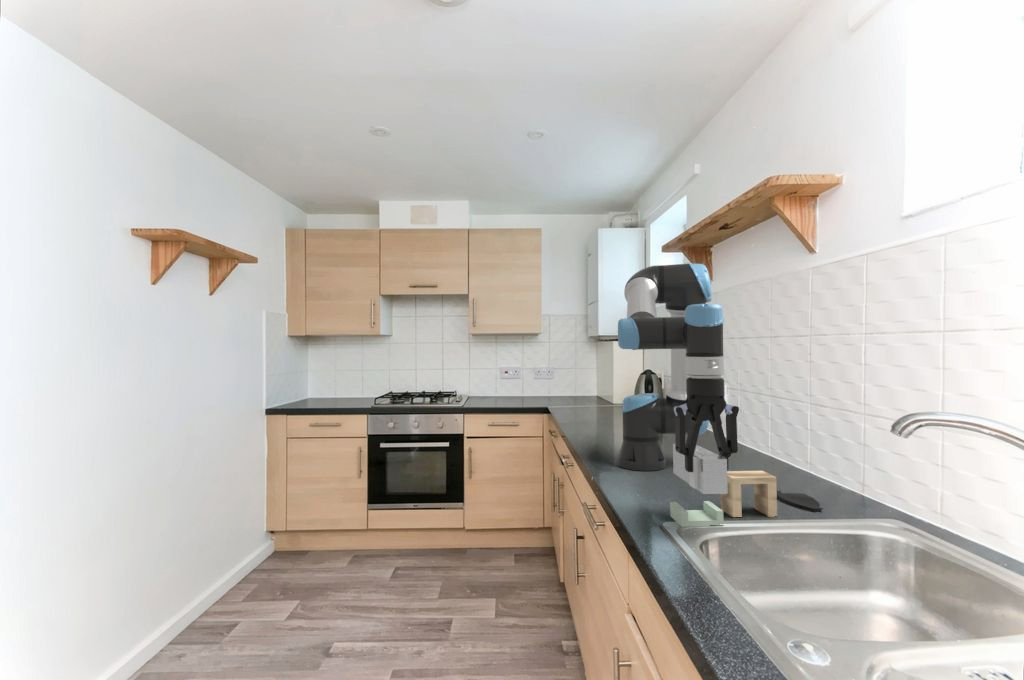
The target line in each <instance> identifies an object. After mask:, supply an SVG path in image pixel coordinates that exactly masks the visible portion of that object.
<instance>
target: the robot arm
mask: <svg viewBox="0 0 1024 680" xmlns="http://www.w3.org/2000/svg"><path fill="white" fill-rule="evenodd" d="M623 293H624V294H623V295H624V298H625V301H626V303H627V305H626V307H627V308H626V317H625V318H620V319H619V320H618V321H617V344H618V347H619V348H620V349H622V350H633V351H635V350H636V351H638V350H670V388H669V389H667V391H666V393H665V397H660V395H659V393H657V392H651V393H650V392H647V393H646V392H645V393H638V394H632V395H628V396H625V397H624V398H623V400H622V410H621V413H622V443H621V446H620V450H619V452H618V456H617V465H618V466H619V467H621V468H623V469H625V470H627V469H628V470H630V471H631V470H633V471H641V472H643V471H645V472H646V471H648V472H650V471H651V472H652V471H659V470H663V469H665V468H666V466H667V465H666V463H667V461H666V458H665V457H666V456H665V454H664V451H663V448H662V446H661V442H660V439H661V438H660V434H662V435H675V439H674V440H675V443H674V444H675V449H676V451H677V452H679V453H680V454H683V455H684V456H685V469H686V471H688V472H689V485H688V486H690V487H691V488H692V489H694V490H697V489H698V463H697V457H695V456H694V452H695V448H696V445H697V443H698V438H699V435H700V436H701V435H703V434H705V433H706V431H707V430H708V428H709V427H708V426H709V424H710V426H711V429H712V433H713V436H714V440H715V444H716V446H717V451H718V453H719V454H717V453H716V454H717V455H719V456H722V457H724V458H726V459H727V471H729V469H730V468H729V458H730V457H731V456H732V455H733V454H737V453H738V449H739V447H738V425H737V424H738V423H737V422H738V419H737V417H738V414H739V411H740V408H739V406H738V405H733V404H728V403H727V401H726V400H725V379H724V378H723V377H722V376H723V375H724V374H725V368H724V367H725V365H724V363H725V362H724V360H725V359H724V358H725V357H724V323H725V319H724V316H723V313H724V312H723V307H722V306H721V304H718V303H709V302H711V301H712V295H713V294H712V285H711V278H710V274H709V271H708V268H707V267H706V265H704V264H703V263H691V262H690V263H677V264H665V265H663V264H661V265H658V264H657V265H650V266H646V267H645V268H642V269H640V270H639V271H637V272H635V273H634V274H633V275H632V276H631V277H630V278H629V279H628V280H627V281H626V283H625V287H624V291H623ZM657 304H665V310H666V311H667V312H668V313H669V314H670V316H669V317H668V316H666V317H661V316H660V317H657V307H656V305H657ZM723 412H724V413H725V433H724V429H723V422H722V418H721V414H722V413H723ZM686 436H687V437H686ZM685 443H686V444H685Z"/></svg>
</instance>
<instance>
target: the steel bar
mask: <svg viewBox="0 0 1024 680" xmlns="http://www.w3.org/2000/svg"><path fill="white" fill-rule="evenodd" d="M685 444H686V442H685ZM719 455H720V454H719ZM719 455H717V453H715V452H713V451H711V450H709V449H706V448H705V447H702V446H700V445H698V444H696V448H695V452H694V456H695V457H697V463H698V489H696V490H697V491H698V492H700V493H701V494H702V495H717V494H718V495H719V494H720V495H721V494H728V487H727V459H726V458H724V457H722V456H719ZM672 460H673V461H672V463H673V464H672V465H673V467H672V468H673V469H672V470H673V474H674V475H675V476H677V477H678V478H679V479H681V480H683V481H684V482H685V483H687V484H689V472H688V471H686V469H685V456H684V455H683V454H680V453H679V452H677V451H676V449H675V443H672Z"/></svg>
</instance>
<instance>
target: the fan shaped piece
mask: <svg viewBox="0 0 1024 680" xmlns="http://www.w3.org/2000/svg"><path fill="white" fill-rule="evenodd" d="M777 500H779V501H781V502H783V503H784V504H786V505H789V506H791V507H795V508H797V509H800V510H804V511H807V512H811V513H816V512H820V513H822V511H823V509H824V508H823V507H821V506H820V505H821V504H820V503H819V502H818V500H816V499H815V498H814V497H812V496H810V495H808V494H805V493H797V492H796V493H795V492H794V493H793V492H792V493H787V492H785V493H783V492H782V491H781V490H777Z"/></svg>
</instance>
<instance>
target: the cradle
mask: <svg viewBox="0 0 1024 680" xmlns="http://www.w3.org/2000/svg"><path fill="white" fill-rule="evenodd" d="M702 504H703V506H702V507H703V509H690V510H688V509H687V510H686V509H685V508H684V507H683V506H681V505H680V504H679V503H678V502H677V501H670V502H669V512H670V515H669V516H670V517H671V518H672V519H673V520H674V521H675V522H676V523H677V524H678V525H679V526H680V527H681V528H690V527H691V528H692V527H693V528H694V527H695V528H696V527H711V526H710V525H720V524H724V511H723V510H721V507H718V506H717V505H715V504H714V503H713V502H711V501H710V500H703V503H702Z"/></svg>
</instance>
